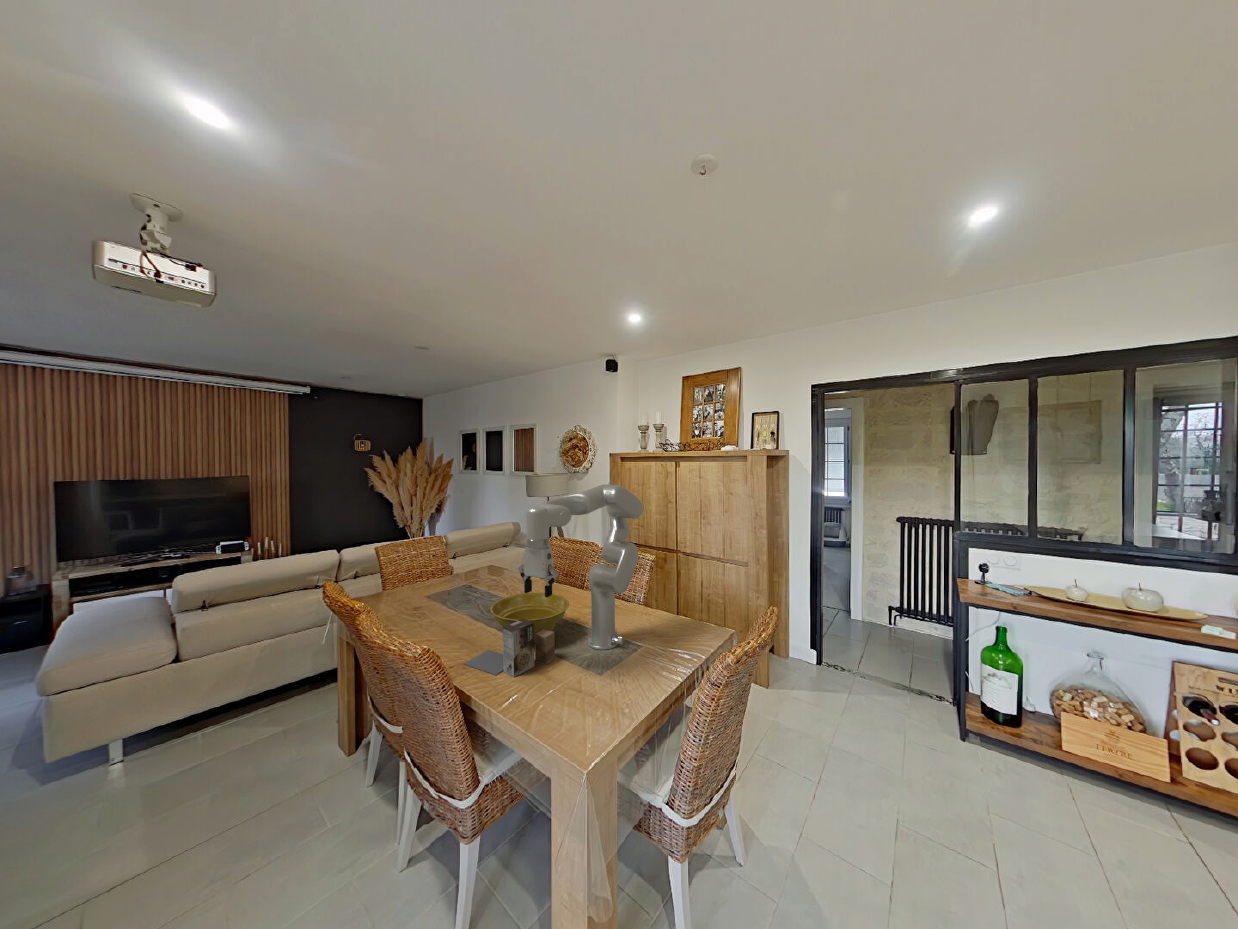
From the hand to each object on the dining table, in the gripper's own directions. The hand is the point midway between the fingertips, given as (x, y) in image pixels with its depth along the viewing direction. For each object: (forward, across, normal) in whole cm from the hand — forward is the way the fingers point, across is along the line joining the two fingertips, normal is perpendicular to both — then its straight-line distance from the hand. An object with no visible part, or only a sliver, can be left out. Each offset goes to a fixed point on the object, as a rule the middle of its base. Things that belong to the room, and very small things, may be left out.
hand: (538, 594), depth 138 cm
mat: (+28, +21, +1) cm, 35 cm away
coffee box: (+28, +9, 0) cm, 30 cm away
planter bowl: (+28, +23, -22) cm, 43 cm away
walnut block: (+28, +5, -10) cm, 30 cm away
